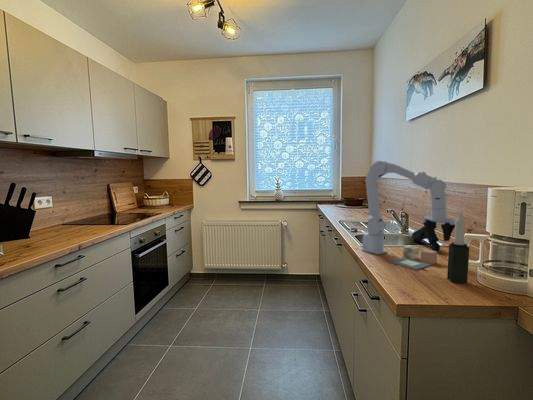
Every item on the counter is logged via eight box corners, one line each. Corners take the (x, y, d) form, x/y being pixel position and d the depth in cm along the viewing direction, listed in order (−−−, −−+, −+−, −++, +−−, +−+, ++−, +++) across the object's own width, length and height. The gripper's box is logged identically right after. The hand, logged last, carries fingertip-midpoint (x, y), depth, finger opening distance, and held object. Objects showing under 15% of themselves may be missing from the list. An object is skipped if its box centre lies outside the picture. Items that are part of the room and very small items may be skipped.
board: (389, 262, 122) (389, 261, 122) (404, 258, 128) (404, 257, 127) (416, 270, 112) (416, 269, 112) (431, 265, 117) (431, 264, 117)
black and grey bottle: (468, 284, 98) (472, 212, 95) (452, 283, 99) (456, 212, 96) (461, 278, 103) (465, 210, 100) (446, 277, 104) (449, 210, 101)
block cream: (403, 257, 129) (403, 246, 129) (408, 255, 132) (409, 245, 131) (412, 259, 125) (413, 248, 125) (418, 258, 128) (418, 247, 127)
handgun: (423, 259, 154) (419, 233, 160) (444, 250, 134) (438, 220, 139) (415, 259, 155) (410, 233, 161) (433, 250, 134) (428, 220, 140)
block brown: (420, 262, 123) (420, 250, 122) (426, 260, 125) (426, 249, 124) (431, 264, 119) (431, 253, 118) (436, 262, 121) (437, 251, 121)
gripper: (461, 208, 116) (461, 241, 116) (431, 206, 130) (432, 235, 130) (447, 209, 114) (448, 243, 114) (419, 207, 128) (420, 237, 128)
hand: (439, 239), depth 122 cm, fingers open, 7 cm apart
